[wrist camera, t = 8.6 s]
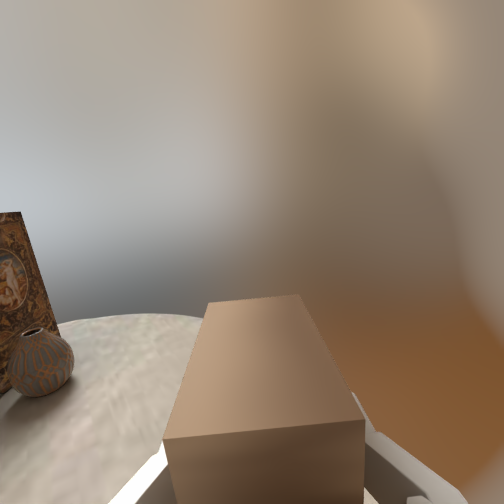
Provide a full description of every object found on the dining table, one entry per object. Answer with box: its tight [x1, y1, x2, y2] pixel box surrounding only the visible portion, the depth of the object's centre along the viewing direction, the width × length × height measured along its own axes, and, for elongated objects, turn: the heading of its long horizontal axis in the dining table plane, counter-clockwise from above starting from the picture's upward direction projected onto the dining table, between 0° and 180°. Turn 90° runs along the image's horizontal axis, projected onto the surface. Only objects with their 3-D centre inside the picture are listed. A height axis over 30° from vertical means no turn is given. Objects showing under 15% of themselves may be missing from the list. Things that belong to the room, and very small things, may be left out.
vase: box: [7, 327, 74, 397], centre depth 33 cm, size 7×7×9 cm
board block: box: [162, 294, 366, 504], centre depth 9 cm, size 4×6×10 cm, turn 1°
